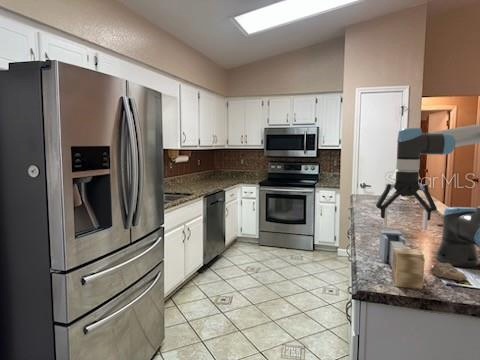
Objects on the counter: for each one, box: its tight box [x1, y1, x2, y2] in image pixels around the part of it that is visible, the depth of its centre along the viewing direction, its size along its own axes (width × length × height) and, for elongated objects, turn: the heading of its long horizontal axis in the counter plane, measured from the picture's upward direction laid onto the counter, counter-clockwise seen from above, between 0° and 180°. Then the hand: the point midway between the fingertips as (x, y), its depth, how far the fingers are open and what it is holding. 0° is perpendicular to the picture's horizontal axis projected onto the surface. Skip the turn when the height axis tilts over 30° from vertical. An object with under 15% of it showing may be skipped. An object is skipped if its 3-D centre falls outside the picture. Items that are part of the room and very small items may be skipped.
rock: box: [430, 262, 468, 282], centre depth 123 cm, size 9×6×10 cm
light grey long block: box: [388, 241, 408, 268], centre depth 127 cm, size 5×18×9 cm, turn 167°
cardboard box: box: [391, 248, 425, 290], centre depth 117 cm, size 8×7×12 cm
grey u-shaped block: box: [378, 229, 406, 263], centre depth 142 cm, size 8×11×11 cm
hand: (404, 227), depth 123 cm, fingers open, 13 cm apart
